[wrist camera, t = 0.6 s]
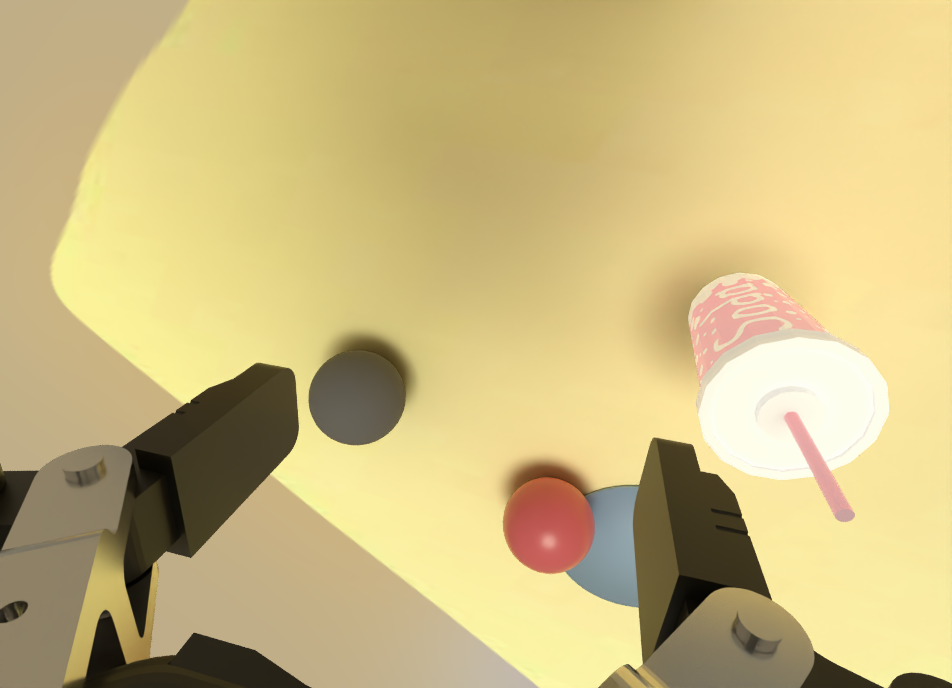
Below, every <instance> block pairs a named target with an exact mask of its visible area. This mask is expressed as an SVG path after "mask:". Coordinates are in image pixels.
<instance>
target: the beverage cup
mask: <svg viewBox="0 0 952 688" xmlns="http://www.w3.org/2000/svg"><path fill="white" fill-rule="evenodd" d="M688 321H689V327H690V333H691V338H692V344H693V350H694V356H695V361H696V367H697V373H698V379H699V385H700V390H699V393H698V397H697V401H696V405H697V412H698V416H699V421H700V425H701V429H702V434H703V438H704V440H705V441H706V443H707V444H708V445H709V446H710V447H711V448H712V450H713V451H714V452H715V453H716V454H717V456H718V457H719V458H720V459H721V460H722V461H724V462H725V463H727V464H729V465H731V466H733V467H735V468H737V469H739V470H741V471H743V472H745V473H747V474H748V475H754V476H760V477H766V478H772V479H778V480H787V479H796V478H805V477H815V479H816V481H817V483H818V485H819V487H820V489H821V491H822V493H823V495H824V497H825V498H826V500H827V502H828V504H829V506H830V508H831V510H832V512H833V514H834V516H835V518H836V519H837V520H839V521H841V522H848V521H850V520H852V519H853V518H854V516H855V513H854V512H853V510H852V508H851V506H850V505H849V503H848V501H847V499H846V497H845V496H844V494H843V492H842V490H841V489H840V487H839V485H838V483H837V482H836V480H835V478H834V476H833V475H832V473H831V470H833V469H836V468H838V467H841V466H843V465H845V464H848V463H850V462H851V461H852V460H854V459H855V458H856V457H857V456H858V455H859V454H861V453H862V452H863V451H864V450H865V449H866V448H868V447H869V446H870V445H871V444H872V443H873V442H875V441H876V439H877V437H878V435H879V433H880V431H881V429H882V427H883V425H884V423H885V421H886V418H887V416H888V414H889V403H888V388H887V383H886V381H885V380H884V379H883V377H882V376H881V374H880V373H879V372H878V370H877V369H876V367H875V366H874V365H873V363H872V362H871V360H870V359H869V358H868V357H867V356H866V355H865V354H863V353H861V351H860V350H859V349H858V348H857V347H855V346H853V345H851V344H849V343H847V342H845V341H843V340H841V339H839V338H838V337H836V336H834V335H832V334H830V333H829V332H828V331H827V330H826V329H825V328H824V327H823V326H821V325H820V324H819V323H818V322H817V321H816V320H815V319H814V318H813V317H811V316H810V315H809V314H808V313H807V312H806V311H805V310H804V309H803V308H801V307H800V306H799V305H798V304H797V303H796V302H795V301H794V300H793V299H792V298H790V297H789V296H788V295H787V294H786V293H785V292H784V291H783V290H782V289H780V288H779V287H778V286H777V285H776V284H775V283H773V282H772V281H770V280H768V279H766V278H764V277H762V276H760V275H758V274H748V273H735V274H731V275H726V276H722V277H719V278H717V279H716V280H714V281H712V282H711V283H709V284H708V285H706V286H705V287H703V288H702V289H701V291H700V292H699V293H698V295H697V296H696V297H695V299H694V300H693V301H692V304H691V308H690V312H689V316H688Z"/></svg>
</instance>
